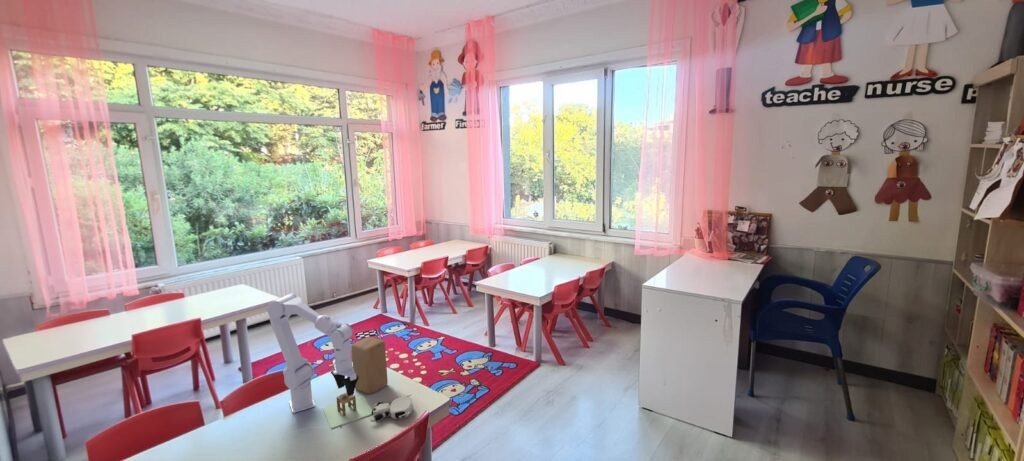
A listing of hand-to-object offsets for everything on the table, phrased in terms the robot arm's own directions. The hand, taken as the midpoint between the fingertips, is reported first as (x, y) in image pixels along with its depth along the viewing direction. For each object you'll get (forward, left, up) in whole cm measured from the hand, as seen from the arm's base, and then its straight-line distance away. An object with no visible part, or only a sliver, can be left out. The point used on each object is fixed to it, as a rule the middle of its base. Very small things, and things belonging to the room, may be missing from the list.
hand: (345, 391), depth 158 cm
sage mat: (0, 0, -8) cm, 8 cm away
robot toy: (+12, +13, -9) cm, 20 cm away
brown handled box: (0, 0, -8) cm, 8 cm away
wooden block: (-12, +13, -9) cm, 20 cm away
